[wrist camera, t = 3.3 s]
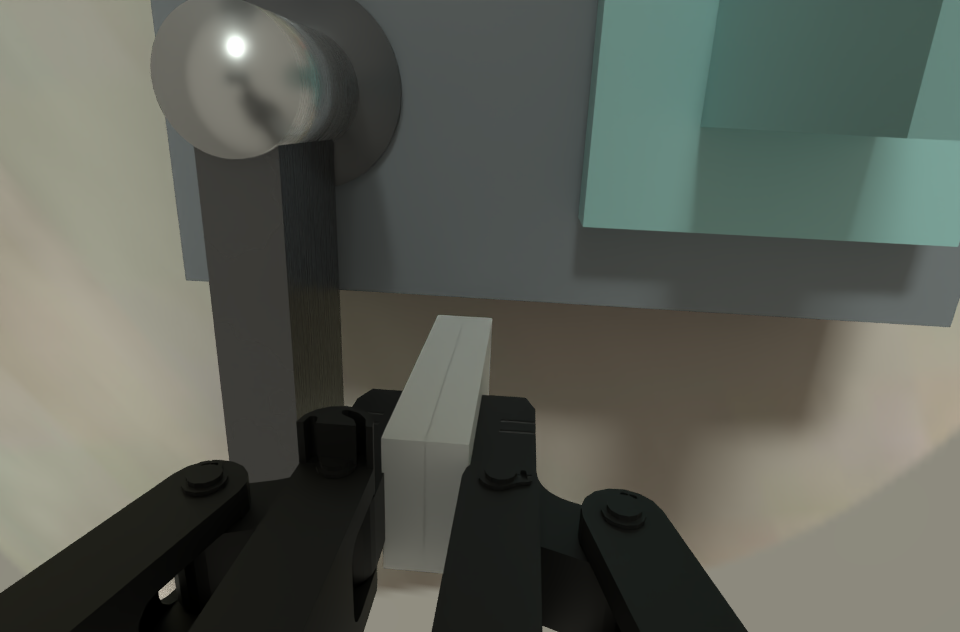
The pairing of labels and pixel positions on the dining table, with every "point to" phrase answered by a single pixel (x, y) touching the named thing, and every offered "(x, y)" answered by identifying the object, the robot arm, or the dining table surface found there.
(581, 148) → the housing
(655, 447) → the dining table surface
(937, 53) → the cover
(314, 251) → the grey lever handle
